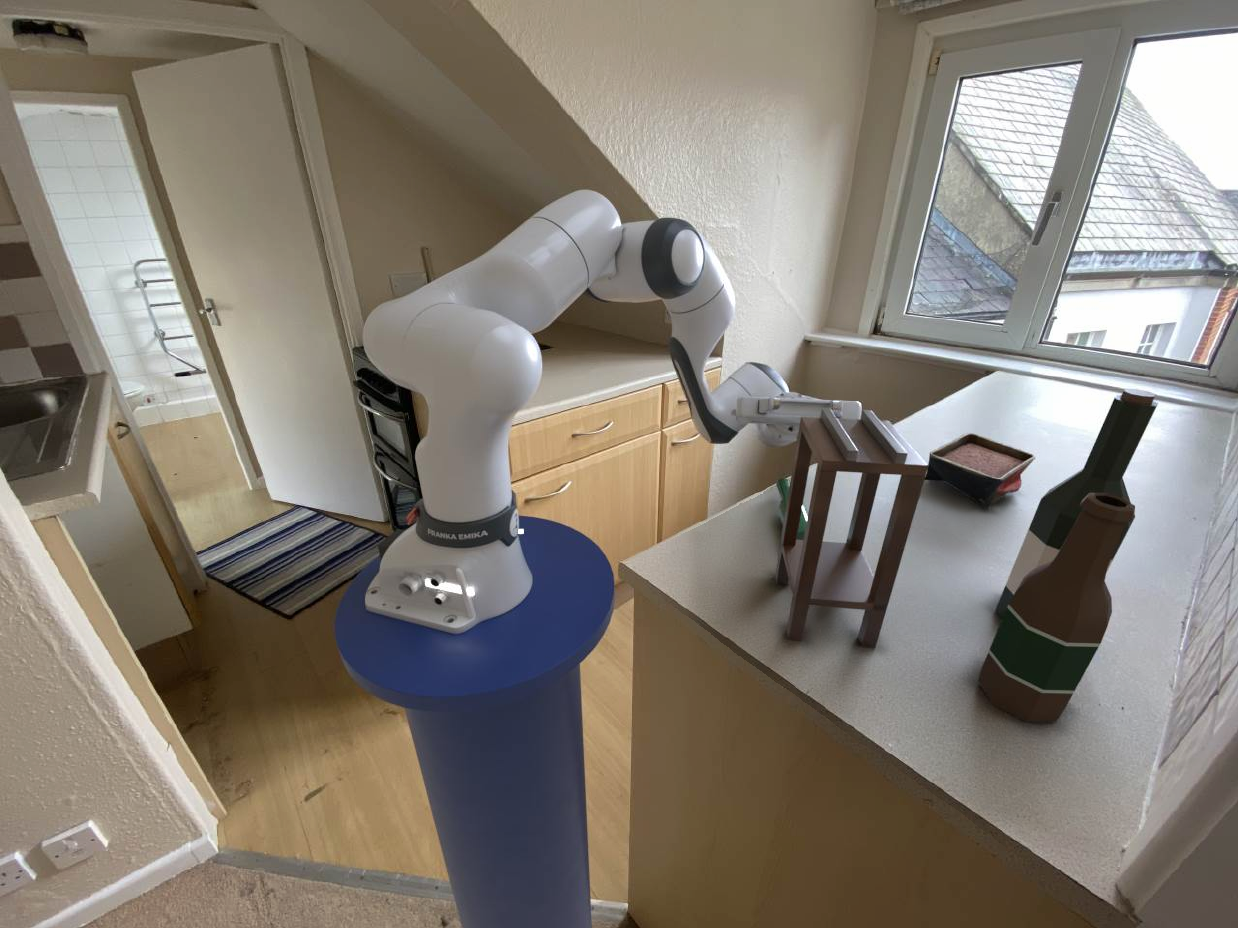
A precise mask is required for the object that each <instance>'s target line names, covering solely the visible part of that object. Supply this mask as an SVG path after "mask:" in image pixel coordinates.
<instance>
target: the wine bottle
mask: <svg viewBox="0 0 1238 928" xmlns="http://www.w3.org/2000/svg"><path fill="white" fill-rule="evenodd" d="M1156 396H1157V394H1156V393H1153V392H1151V391H1148V390H1142V389H1139V388H1138V389H1137V388H1124V390H1123V391H1122V393H1121V394H1118V395H1116V396H1114V398H1113V401H1112V403H1111V405H1110V407H1109V410H1108V412H1107V414H1106V416H1105V418H1104V421H1103V423H1102V425H1101V428H1100V430H1099V432H1098V434H1097V437H1096V439H1095V441H1094V444H1093V445H1092V447H1091V450H1090V451H1089V455H1088V457H1087V459H1086V462H1085V464H1084V467H1083V468H1082V469H1080V470H1079V471H1077V472H1075V473H1073V475H1071V476H1069V477H1067V478H1065V479H1064V480H1063V481H1061V482H1059V483H1058V484H1057V485H1055V486H1053V487H1052V488H1050V489H1049V490H1048V491H1047V492H1046V493H1045V494H1044V495H1043V496H1042V497H1041V498H1040V499H1039V503H1038V506H1037V508H1036V510H1035V512H1034V516H1033V518H1032V520H1031V522H1030V524H1029V527H1028V529H1027V533H1026V534H1025V537H1024V539H1023V541H1022V544H1021V547H1020V549H1019V551H1018V553H1017V556H1016V559H1015V561H1014V564H1013V566H1012V568H1011V571H1010V573H1009V576H1008V579H1007V581H1006V583H1005V586H1004V588H1003V590H1002V592H1001V595H1000V598H999V600H998V602H997V605H996V607H995V610H994V611H995V614H996V615H997V616H998V617H999V619H1000V620H1002V619H1003V616H1004V614H1005V612H1006V609H1007V607H1008V604H1009V603H1010V601H1011V599H1012V597H1013V595H1014V594H1015V592H1016V590H1017V588H1018V587H1019V585H1020V583H1021V582H1022V580H1023V578H1024V577H1025V576H1026V575H1027V574H1029V573H1030V572H1031V571H1032V570H1033V569H1035V568H1037V567H1039V566H1042V565H1044V564H1046V563H1049V562H1051V561H1052V560H1053V558H1054V557H1055V556H1056V555H1057V553H1058V552H1059V551H1060V549H1061V547H1062V546H1063V544H1064V542H1065V540H1066V538H1067V537H1068V535H1069V533H1070V531H1071V529H1072V528H1073V526H1074V524H1075V522H1076V520H1077V519H1078V517H1079V515H1080V513H1081V511H1082V510H1083V509H1082V508H1081V507H1080V504H1081V502H1082V500H1083V499H1084V498H1085V497H1086V496H1087V495H1088V494H1089V493H1107V494H1111V495H1114V496H1118V497H1121V498H1123V499H1125V500H1127V501H1128V502H1130V503H1131V504H1132V501H1131V499H1130V496H1129V493H1128V490H1127V487H1126V484H1125V481H1124V476H1125V474H1126V472H1127V470H1128V468H1129V465H1130V463H1131V462H1132V459H1133V457H1134V454H1135V453H1136V450H1137V448H1138V446H1139V444H1140V442H1141V440H1142V439H1143V436H1144V434H1145V432H1146V430H1147V427H1148V426H1149V423H1150V422H1151V420H1152V418H1153V415H1154V413H1155V412H1156V409H1157V407H1158V405H1159V402H1157V401H1154V400H1155V398H1156ZM1135 519H1136V514H1135V515H1134V518H1133V521H1132V522H1126V524H1125V526H1124V529H1123V531H1122V534H1121V536H1120V539H1119V541H1118V543H1117V546H1116V548H1115V551H1114V553H1113V556H1112V558H1111V561H1110V563H1109V566H1108V568H1107V572H1108V571H1109V569H1110V567H1111V566H1112V564H1113V561H1114V560H1115V557H1116V555H1117V553H1118V552H1119V550H1120V548H1121V545H1122V544H1123V542H1124V541H1125V538H1126V537H1127V534H1128V532H1129V530H1130V528H1131V526H1132V524H1133V523H1134V520H1135Z"/></svg>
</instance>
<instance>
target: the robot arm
mask: <svg viewBox="0 0 1238 928" xmlns="http://www.w3.org/2000/svg"><path fill="white" fill-rule="evenodd" d="M581 295H584V296H585V297H586V298H588V299H590V300H592V301H596V302H600V303H611V302H617V303H633V304H636V303H637V304H638V303H648V302H653V301H658V300H662V303H663V304H664V305H665V308H666V309H667V311H668V314H669V317H670V322H671V336H670V338H669V341H668V344H667V347H668V353H669V357H670V360H671V363H672V365H673V368H674V372H675V374H676V376H677V379H678V381H679V384H680V387H681V389H682V392H683V394H684V397H685V399H686V400H685V401H686V402H687V405H688V408H689V413H690V417H691V421H692V423H693V425H694V428H695V430H696V431H697V433H698V435H700V437H702V438H703V439H704V440H705V441H706V442H707V443H709V444H712V445H725V444H729V443H730V442H731V441H732V440H733V439H734V438H735V437H736V436H737V435H739V433H740V431H742V430H743V429H744V428H746V427H747V426H748V425H749V424H754V426H753V429H754V433H755V437H756V438H757V440H758V441H759V442H760V443H762V444H763V445H765V446H768V447H771V448H782V447H785V446H789V445H790V444H792V443H794V442H797V438H798V432H799V426H800V420H801V417H816V418H820V415H821V410H822V408H828V409H831V411H832V412H833V414H834V415H835V417H836V418H839V419H860V418H861V414H862V410H863V409H862V403H861V402H859V401H857V400H842V399H823V398H816V397H813V396H809V395H805V394H803V395H802V394H800V393H798V392H795V391H790V390H789V386H788V385H787V383H786V382H785V380H784V379H783V377H782V376H781V375H780V374H779V373H778V372H777V371H776V370H775V369H773V368H772V367H771V366H770V365H768V364H765V363H760V362H755V361H748V362H744V364H743V365H741V366H740V367H738V368H737V370H735V371H733V373H731V374H730V375H729V376H728V377H727V378H726V379H725V380H724V381H723V382H721V383H720V384H719V385H718V386H717V387H715V388H714V389H713V390H712V391H710V387H709V385H708V382H707V378H706V376H705V375H706V374H705V368H706V365H707V362H708V360H709V358H710V356H711V354H712V352H713V351H714V349H715V347H716V345H717V344H718V343H719V341H720V340H721V338H722V337H723V336H724V334H725V333H726V332H727V330H728V329H729V328H730V325H731V323H732V321H733V318H734V315H735V311H736V297H735V296H736V295H735V291H734V288H733V286H732V284H731V281H730V279H729V277H728V274H727V273H726V271H725V270H724V267H723V264H722V263H721V261H720V259H719V258H718V256H717V255H716V253H715V251H714V249H713V248H712V247H711V245H710V244H709V242H708V241H707V239H706V238H705V237H704V236H703V235H702V233H701V232H700V231H699V230H698V229H697V228H695V227H694V226H693V224H692V223H690V222H689V221H687V220H685V219H681V218H678V217H677V218H676V217H660V218H658V219H655V220H654V219H652V220H639V221H633V222H631V221H630V222H624V223H622V221H621V218H620V215H619V212H618V211H617V209H616V207H615V205H614V204H613V203H612V202H611V201H610V200H609V199H608V198H607V197H606V196H605V195H603V194H601V193H600V192H597V191H596V190H591V189H578V190H576V191H573V192H570V193H568V194H565V195H564V196H562V197H560V198H558V199H556V200H554V201H553V202H551V203H549V204H547V205H546V206H545V207H543V208H541V209H540V210H538V211H537V212H535V213H534V214H533V215H531V216H530V217H528V218H527V219H526V220H525V221H524V222H523V223H521V224H520V225H519V226H517V227H516V229H514V230H513V231H511V232H510V233H509V234H507V236H505V237H504V238H503V239H502V240H500V241H499V242H498V243H496V244H495V245H494V246H493V247H491V248H490V249H489V250H488V251H485V252H484V253H483V254H481V255H480V256H478V257H477V258H474V259H473V260H472V261H470V262H467V263H465V264H464V265H462V266H459V267H458V268H455V269H454V270H452V271H450V272H448V273H445V274H444V275H442V276H440V277H438V278H436V279H434V280H432V281H431V282H429V283H427V284H425V285H423V286H422V287H420V288H418V289H416V290H414V291H413V292H410V293H408V294H406V295H403V296H400V297H398V298H395V299H391V300H388V301H386V302H385V301H384V302H383V303H381V304H379V305H377V307H375V308H374V309H373V310H371V312H370V313H369V315H368V316H367V317H366V320H365V322H364V325H363V329H362V345H363V349H364V352H365V354H366V356H367V359H368V360H369V361H370V362H371V364H372V365H373V366H374V367H375V368H376V369H377V370H378V371H379V372H380V373H381V374H382V375H383V376H385V377H386V378H387V379H388V380H390V381H391V382H392V383H393V384H395V385H396V386H399V387H402V388H405V389H407V390H410V391H413V392H416V393H418V394H420V395H422V397H423V398H424V399H425V402H426V405H427V408H428V423H427V424H428V425H427V432H426V435H425V436H424V437H423V438H422V439H421V440H420V441H419V443H418V444H417V446H416V449H415V454H414V459H415V464H416V470H417V475H418V480H419V484H420V490H421V495H422V498H420V499H419V500H418V501H417V502H416V503H414V505H413V509H412V510H411V511H410V512H409V514H407V516H406V520H408V521H407V525H408V526H410V525H411V524H412V523H413V522H414V521H415V520H416V521H415V523H413V524H412V525H411V526H410V527H408V528H407V529H400V528H397V529H395V531H394V532H392V533H391V534H390V535H388V537H386V538H385V539H383V540H382V541H381V542H380V543H378V545H377V550H378V554H379V555H380V558H381V564H380V570H379V573H378V574H377V575H376V577H375V578H374V579H373V581H372V582H371V584H370V586H369V588H368V590H367V592H366V596H365V606H366V610H368V611H370V612H374V613H377V614H381V615H385V616H389V617H392V618H396V619H400V620H404V621H407V622H411V623H415V624H419V625H422V626H426V627H430V628H434V629H437V630H441V631H445V632H448V633H452V634H460V633H463V632H465V631H467V630H469V629H470V628H472V627H473V626H475V625H476V624H478V623H479V622H482V621H484V620H487V619H490V618H493V617H496V616H499V615H501V614H503V613H506V612H507V611H509V610H511V609H513V608H514V607H516V606H517V605H518V604H519V603H521V602H522V601H523V600H524V599H525V597H526V596H527V595H528V593H529V591H530V589H531V587H532V582H533V578H532V574H531V571H530V569H529V568H528V565H527V563H526V561H525V558H524V555H523V552H522V549H521V545H520V541H519V537H518V534H523V529H519V516H520V515H519V510H518V506H517V505H518V504H517V498H516V494H515V491H514V490H513V489H512V480H511V479H512V478H511V468H510V455H509V442H510V435H511V429H512V425H513V422H514V419H515V417H516V415H517V413H518V412H519V411H521V410H522V409H523V408H524V407H525V406H527V405H528V404H529V403H530V401H531V400H532V399H533V398H534V396H535V394H536V392H537V390H538V388H539V386H540V383H541V380H542V374H543V358H542V357H543V356H542V352H541V348H540V346H539V344H538V342H537V340H536V338H535V337H534V336H533V334H535V333H538V332H541V331H543V330H544V329H546V328H548V327H549V326H550V325H551V324H552V323H553V322H554V321H555V320H557V318H558V317H559V316H561V315H562V314H563V312H565V311H566V310H567V309H568V308H569V307H571V305H572V304H573V303H574V302H575V301H576V300H577V299H578V298H579V297H581Z"/></svg>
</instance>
